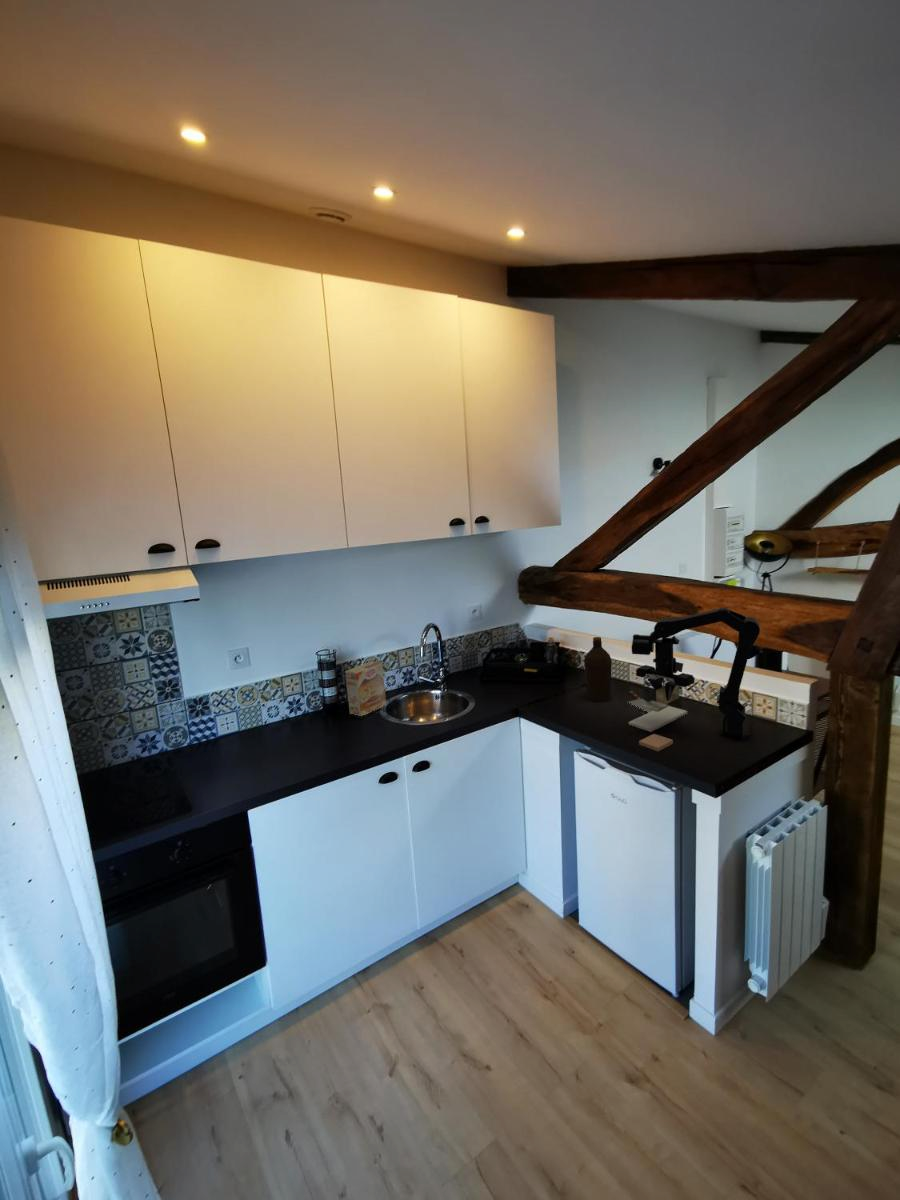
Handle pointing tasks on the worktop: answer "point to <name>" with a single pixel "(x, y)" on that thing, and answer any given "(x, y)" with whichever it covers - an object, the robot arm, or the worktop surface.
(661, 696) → the turner
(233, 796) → the worktop surface
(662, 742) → the tile
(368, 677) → the coffeecake box
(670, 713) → the rest board
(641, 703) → the kitchen cleaver
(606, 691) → the olive oil
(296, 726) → the worktop surface
